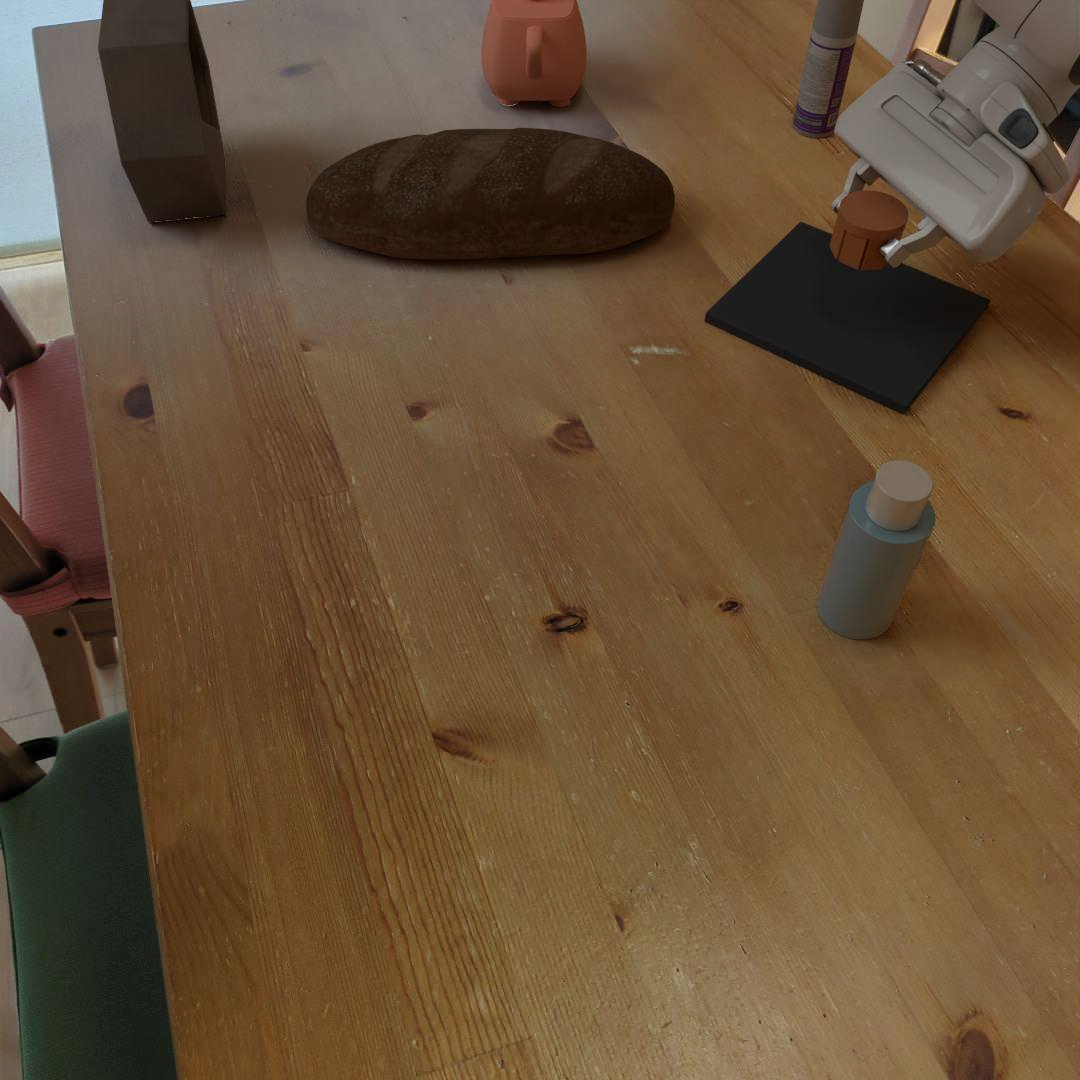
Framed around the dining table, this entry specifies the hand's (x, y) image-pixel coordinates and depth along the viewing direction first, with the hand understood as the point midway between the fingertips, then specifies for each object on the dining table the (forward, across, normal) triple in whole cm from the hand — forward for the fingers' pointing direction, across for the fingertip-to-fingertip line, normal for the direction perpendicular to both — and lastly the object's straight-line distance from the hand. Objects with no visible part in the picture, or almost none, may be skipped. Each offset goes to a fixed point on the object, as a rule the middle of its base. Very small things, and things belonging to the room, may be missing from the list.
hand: (861, 237), depth 96 cm
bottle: (+19, +28, -7) cm, 35 cm away
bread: (+23, -26, -10) cm, 37 cm away
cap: (+1, 0, +2) cm, 2 cm away
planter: (+42, -45, -29) cm, 68 cm away
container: (-5, -28, +18) cm, 34 cm away
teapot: (+12, -49, +1) cm, 51 cm away
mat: (+6, 0, +7) cm, 9 cm away
